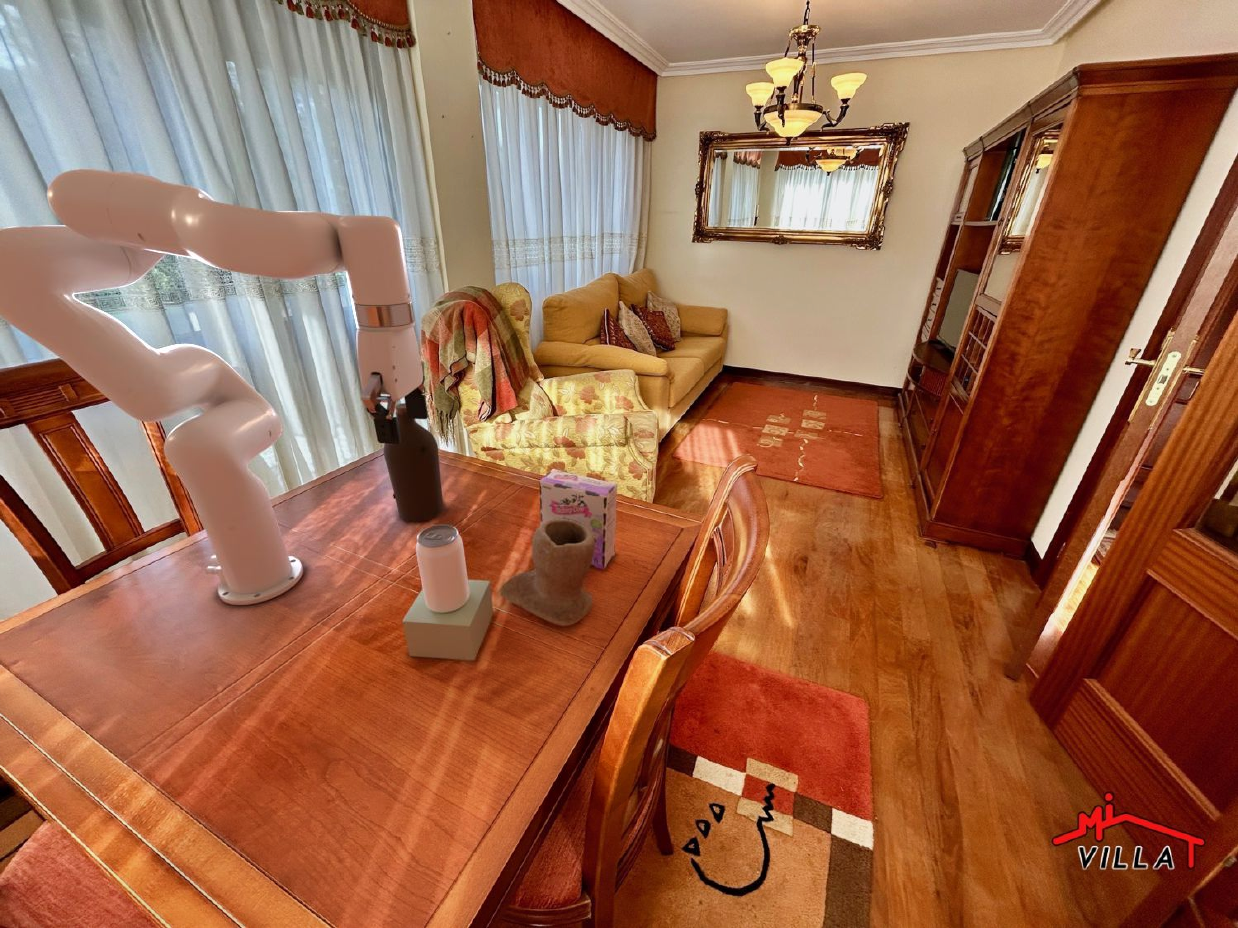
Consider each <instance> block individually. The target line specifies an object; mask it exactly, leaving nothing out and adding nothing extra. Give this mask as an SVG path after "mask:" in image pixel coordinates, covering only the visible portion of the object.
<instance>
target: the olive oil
mask: <svg viewBox="0 0 1238 928" xmlns="http://www.w3.org/2000/svg"><path fill="white" fill-rule="evenodd" d="M395 411H396V412H395V417H397V421H398V426H399V432H400V438H401V442H400V443H399V444H386V443H383V457H384V461H385V464H386V468H387V471H388V476H389V479H390V483H391V487H392V491H393V494H392V497H393V500H395V502H396V507H397V511H398V515H399V517H400V518H401V520H403V521H406V522H411V523H420V522H421V523H422V522H426V521H430V520H432V519H434V518H437V517H438V516H440V514H442V512H443V511H444V497H443V490H442V479H441V469H440V468H441V467H440V456H439V455H440V454H439V446H438V442H437V439H436V438H435V437H434V435H433V434H432V432H430V431H429V430H428V429H426V428H425V427H424V426H422V425H421V424H419V423H418V422H416V419H410V418H408V416H407V410H406V404H405V402H403V403H399V404H396V405H395Z"/></svg>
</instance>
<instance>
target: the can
mask: <svg viewBox="0 0 1238 928" xmlns="http://www.w3.org/2000/svg"><path fill="white" fill-rule="evenodd" d="M416 541H417V542H416V545H415V554H416V560H417V565H418V572H419V575H420V580H421V587H422V588H423V592H424V597H425V602H426V605H427V607H428V608H429V609H430V610H432V611H434V612H437V613H449V612H453V611H455V610H457V609H459V608H461V607H462V606H463V605H464V604H465V603H466V602H467V600H468V598H469V585H468V580H469V579H468V571H467V570H468V569H467V563H466V556H465V548H464V543H463V542H464V541H463V538H462V536H461V535H460V533H459V530H458V528H457V527H455V526H453V525H450V524H445V523H441V524H433V525H431V526H428V527H426V528H424V529H423V530H421V531H420V532H419V533H418V534H417V536H416Z"/></svg>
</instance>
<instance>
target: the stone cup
mask: <svg viewBox="0 0 1238 928" xmlns="http://www.w3.org/2000/svg"><path fill="white" fill-rule="evenodd" d="M594 551H595V541H594V537H593V534H592V533H591V531H590V530H589V529H588V528H587V527H586V526H584V525H582V524H580V523H578V522H575V521H571V520H566V519H553V520H548V521H545V522H543V523H542V524H541V523H540V525H538V527H537V528H536V530H535V531H534V534H533V537H532V543H531V552H532V553H531V554H532V561H533V566H534V569H532V570H529V571H523V572H519V573H517V574H515V575H513V576H512V577H510V578H509V579H507V581H505V582H504V583H503V584H502V585H501V586H500V588H499V591H498V594H499V595H500V596H501V597H502V598H504V599H505V600H507V601H509V602H510V603H512V604H514V605H516V606H517V607H519V608H521V609H523V610H525V611H526V612H529V613H531V614H532V615H534V616H536V617H538V618H541V619H542V620H545V621H547V622H549V623H551V624H553V625H556V626H561V627H570V626H573V625H575V624H576V623H578V622H579V621H581V620H582V619H583V618H585V617H586V615H587V614H588V613H590V611H591V610H592V607H593V602H594V597H593V595H592V594H590V593H589V591H587V590H586V589H585V588H583V584H584V581H585V579H586V577H587V575H588V573H589V571H590V569H591V567H592V566H591V563H592V559H593V555H594Z"/></svg>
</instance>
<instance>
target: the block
mask: <svg viewBox="0 0 1238 928" xmlns="http://www.w3.org/2000/svg"><path fill="white" fill-rule="evenodd" d="M468 585H469V598H468V600H467V602H466V603H465V604H464V605H463V606H462V607H461V608H459V609H457V610H455V611H453V612H449V613H437V612H434V611H432V610H430V609H429V608H428V607H427V605H426V602H425V597H424V592H423V587H422V588H421V590H420V592H419V593H418V595H417V596H416V598H415V599H414V601H413V603H412V604H411V606H410V608H409V609H408V611H407V613H406V614H405V616H404V617H403V619H402V621H401V622H402V627H403V632H404V636H405V641H406V646H407V650H408V654H409V657H420V658H432V659H434V658H435V659H445V660H460V661H475V660H476V657H477V655H478V652H479V650H480V648H481V646H482V643H483V641H484V638H485V635H486V633H487V630H488V628H489V625H490V622H491V621H492V618H493V615H494V608H493V598H492V597H493V596H492V588H491V587H492V586H491V581H490V580H482V579H468Z"/></svg>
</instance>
